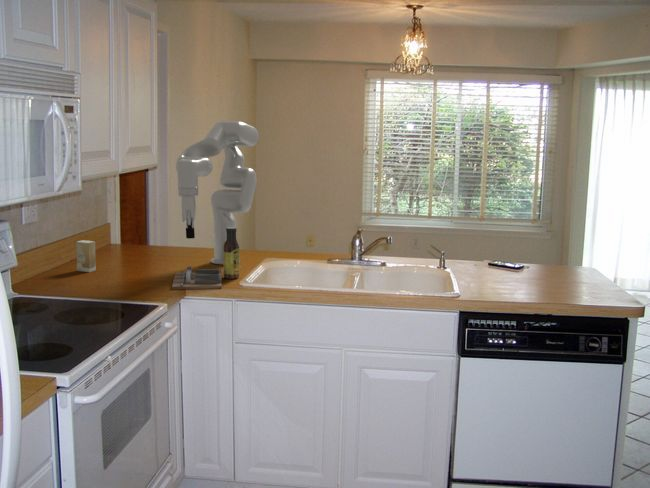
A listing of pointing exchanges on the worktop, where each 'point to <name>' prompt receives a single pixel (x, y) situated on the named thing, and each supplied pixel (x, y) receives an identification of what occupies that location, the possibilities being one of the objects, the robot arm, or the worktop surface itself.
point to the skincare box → (86, 256)
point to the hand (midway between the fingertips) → (190, 237)
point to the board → (198, 279)
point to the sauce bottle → (231, 255)
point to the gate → (188, 274)
